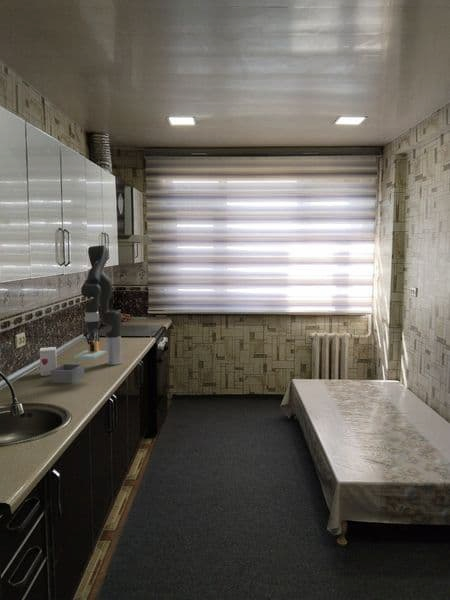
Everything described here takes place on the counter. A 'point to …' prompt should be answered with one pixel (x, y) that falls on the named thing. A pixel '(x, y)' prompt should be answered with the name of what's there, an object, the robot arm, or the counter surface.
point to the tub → (67, 373)
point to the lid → (90, 353)
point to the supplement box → (47, 360)
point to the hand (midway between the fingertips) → (93, 350)
